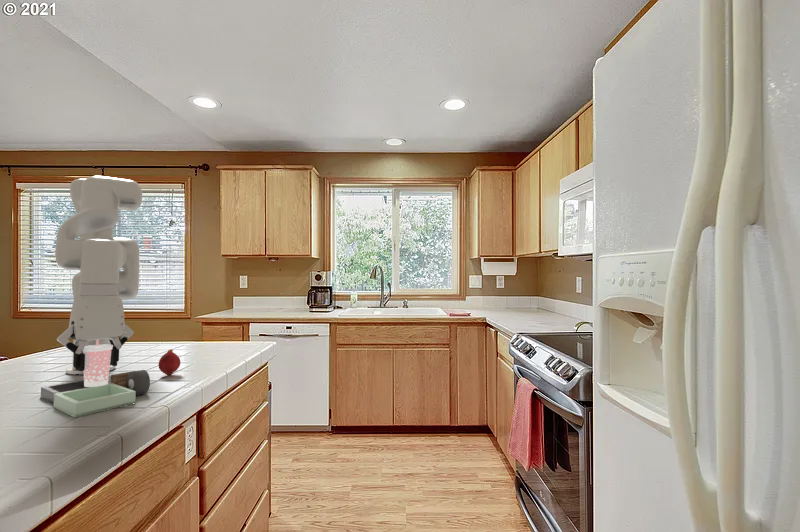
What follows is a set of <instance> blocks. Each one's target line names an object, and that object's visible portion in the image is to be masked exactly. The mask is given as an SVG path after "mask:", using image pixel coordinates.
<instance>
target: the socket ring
mask: <svg viewBox="0 0 800 532" xmlns="http://www.w3.org/2000/svg"><path fill="white" fill-rule="evenodd" d="M84 388H89V387H85V386H84V379H80V380H75V381H67V382H63V383H62V382H61V383H56V384H51V385H45V386H41V387H40V398H41V399H43V400H46V401H48V402H50V403H52V404H54V394H57V393H62V392H68V391H73V390H78V389H84Z"/></svg>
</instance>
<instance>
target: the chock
mask: <svg viewBox="0 0 800 532" xmlns="http://www.w3.org/2000/svg"><path fill="white" fill-rule="evenodd" d="M134 371H135V370H133V371H127V372H122V373H121V372H120V373H115V374H111V375H110V384H111V383H113V384H116V385H119V386H122V387H125V388H126V378H127V375H128V374H129V373H130V372H134Z"/></svg>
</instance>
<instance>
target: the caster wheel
mask: <svg viewBox="0 0 800 532" xmlns="http://www.w3.org/2000/svg"><path fill="white" fill-rule="evenodd" d="M133 371H134V372H132V371H129V372H130V373H129V374H128V375H127V378H126V388H128V389H131V390H134V391H136V396H138V395H143V394H147V393H148V392H149V390H150V387H151V379H150V375H149V372H148V371H147V370H146V369H141V370H133Z"/></svg>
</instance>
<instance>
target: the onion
mask: <svg viewBox="0 0 800 532" xmlns="http://www.w3.org/2000/svg"><path fill="white" fill-rule="evenodd" d="M173 351H174V350H173V349H172V348H170V349H169V350H168V351H167V352H165V353H164V354H162V356H161V357H160V359H159V360H158V369H159V371H161V373H163V374H165V375H166V376H172V375H173V374H174V373H175V372H176V371H178V369H179V368H180V367H181V359H180V357H179V355H177V353H175V352H173Z"/></svg>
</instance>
